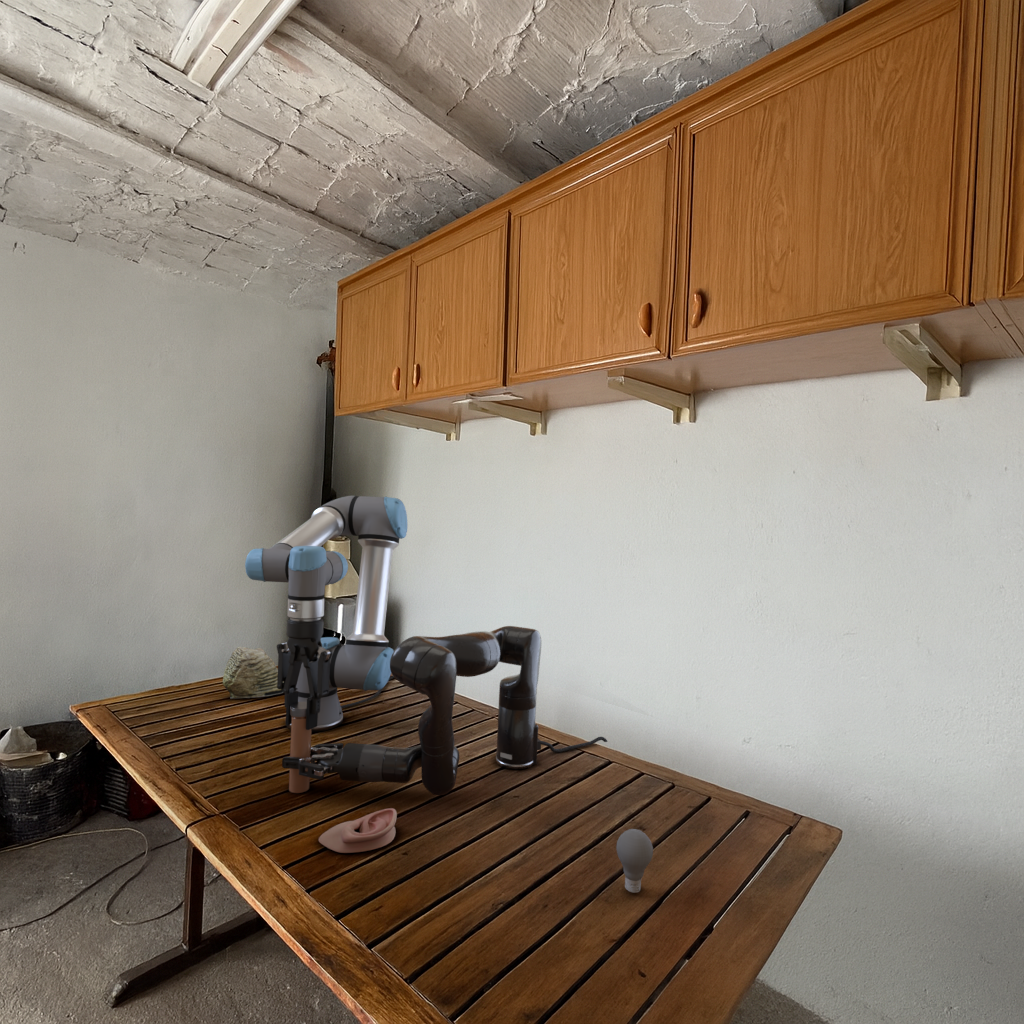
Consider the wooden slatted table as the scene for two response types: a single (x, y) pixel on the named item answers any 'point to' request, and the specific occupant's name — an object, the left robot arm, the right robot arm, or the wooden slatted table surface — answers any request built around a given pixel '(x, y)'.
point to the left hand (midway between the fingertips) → (301, 725)
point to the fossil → (250, 674)
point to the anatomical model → (362, 833)
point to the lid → (298, 709)
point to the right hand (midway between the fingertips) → (287, 757)
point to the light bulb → (634, 857)
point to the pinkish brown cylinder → (299, 753)
